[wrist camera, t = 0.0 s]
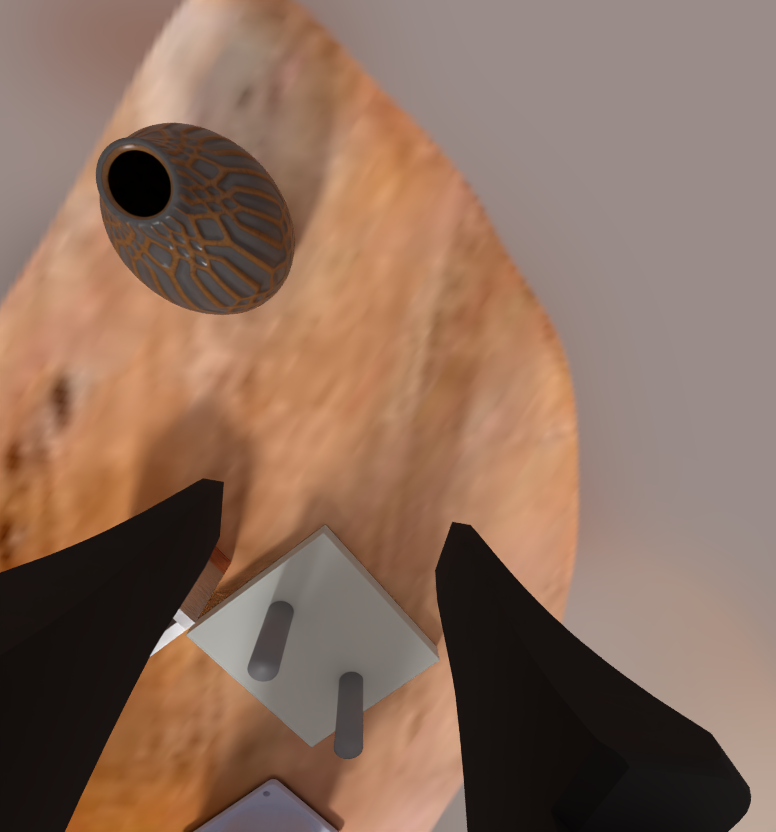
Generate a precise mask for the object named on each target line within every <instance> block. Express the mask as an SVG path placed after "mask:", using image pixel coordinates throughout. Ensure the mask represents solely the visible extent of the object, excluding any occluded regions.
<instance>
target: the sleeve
mask: <svg viewBox="0 0 776 832" xmlns="http://www.w3.org/2000/svg"><path fill="white" fill-rule="evenodd" d="M230 564H231V562H230V561H229V560H228V559H227V558H226V557H225V556H224V555H223V554H222V553H221V552H220V551H219V550H218V549H217V548H216V547H215V548H214V550H213V552H212V554H211V556H210V558H209V560H208V562H207V564H206V567H205V568H204V570H203V571H202V573H201V575H200V576H199V578H198V580H197V581H196V583H195V584H194V586H193V588H192V589H191V591H190V592H189V594H188V596H187V597H186V599H185V600H184V602H183V603H182V605H181V607H180V608H179V610H178V611H177V613H176V614H175V616H174V618H173V619H172V621H171V622H170V624H169V626H168V627H167V629H166V630H165V632H164V633H163V635H162V637H161V638H160V640H159V642H158V643H157V645H156V647H155V648H154V650H153V652H152V654H151V655H150V656H152V655H153V654H154V653H156V652H157V651H158V650H160V649H161V648H162V647H164V646H165V645H167V644H168V643H169V642H171V641H172V640H173V639H175V638H176V637H177V636H179V635H180V634H181V633H183V632H184V631H185V630H187V629H188V628H189V627H191V626H192V625H193V624H195V623H196V621H197V619H198V618H199V616H200V614H201V612H202V611H203V609H204V607H205V606H206V604H207V602H208V601H209V599H210V597H211V596H212V594H213V592H214V591H215V589H216V587H217V585H218V584H219V582H220V580H221V579H222V577H223V575H224V574H225V572H226V570H227V569H228V567H229V565H230Z"/></svg>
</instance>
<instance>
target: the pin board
mask: <svg viewBox="0 0 776 832" xmlns="http://www.w3.org/2000/svg"><path fill="white" fill-rule="evenodd" d="M186 635H187V636H188V637H189V638H190V639H191V640H192V641H193V642H194V643H195V644H197V645H198V646H199V647H200V648H201V649H202V650H203V651H204V652H205V653H207V654H208V655H209V656H210V657H211V658H212V659H213V660H214V661H216V662H217V663H218V664H219V665H220V666H221V667H222V668H223V669H224V670H226V671H227V672H228V673H229V674H230V675H231V676H232V677H233V678H234V679H236V680H237V681H238V682H239V683H240V684H241V685H242V686H243V687H244V688H246V689H247V690H248V691H249V692H250V693H251V694H252V695H253V696H255V697H256V698H257V699H258V700H259V701H260V702H261V703H262V704H263V705H265V706H266V707H267V708H268V709H269V710H270V711H271V712H272V713H273V714H275V715H276V716H277V717H278V718H279V719H280V720H281V721H282V722H284V723H285V724H286V725H287V726H288V727H289V728H290V729H291V730H292V731H294V732H295V733H296V734H297V735H298V736H299V737H300V738H301V739H302V740H304V741H305V742H306V743H307V744H308V745H309V746H310V747H313V746H314V745H316V744H317V743H319V742H320V741H322V740H323V739H325V738H326V737H328V736H329V735H330V734H332V733H333V732H335V741H334V751H335V753H336V755H337V756H339V757H341V758H343V759H352V758H355V757H357V756H358V755H359V754H360V753H361V752H362V750H363V712H364V711H366V710H367V709H369V708H370V707H372V706H373V705H375V704H376V703H377V702H379V701H380V700H382V699H383V698H385V697H386V696H388V695H389V694H391V693H392V692H394V691H395V690H397V689H398V688H399V687H401V686H402V685H404V684H405V683H407V682H408V681H410V680H411V679H413V678H414V677H416V676H417V675H419V674H420V673H422V672H423V671H424V670H426V669H427V668H429V667H430V666H432V665H433V664H435V663H436V662H438V661H439V660H440V658H439V654H438V649H437V647H436V646H435V645H434V644H433V642H432V641H431V640H430V639H429V638H428V637H427V636H426V635H425V634H424V633H423V631H422V630H421V629H420V628H419V627H418V626H417V625H416V624H415V623H414V622H413V620H412V619H411V618H410V617H409V616H408V615H407V614H406V613H405V612H404V610H403V609H402V608H401V607H400V606H399V605H398V604H397V603H396V602H395V601H394V599H393V598H392V597H391V596H390V595H389V594H388V593H387V592H386V591H385V590H384V588H383V587H382V586H381V585H380V584H379V583H378V582H377V581H376V580H375V579H374V577H373V576H372V575H371V574H370V573H369V572H368V571H367V570H366V569H365V568H364V566H363V565H362V564H361V563H360V562H359V561H358V560H357V559H356V558H355V556H354V555H353V554H352V553H351V552H350V551H349V550H348V549H347V548H346V547H345V545H344V544H343V543H342V542H341V541H340V540H339V539H338V538H337V537H336V536H335V534H334V533H333V532H332V531H331V530H330V529H329V528H328V527H327V526H326V525H324V526H323V527H321V528H320V529H319V530H317V531H316V532H315V533H313V534H312V535H311V536H309V537H308V538H307V539H305V540H304V541H302V542H301V543H300V544H298V545H297V546H296V547H294V548H293V549H292V550H290V551H289V552H288V553H286V554H285V555H284V556H282V557H281V558H280V559H278V560H277V561H276V562H274V563H273V564H272V565H270V566H269V567H268V568H266V569H265V570H263V571H262V572H261V573H259V574H258V575H257V576H255V577H254V578H253V579H251V580H250V581H249V582H247V583H246V584H245V585H243V586H242V587H241V588H239V589H238V590H237V591H235V592H234V593H233V594H231V595H230V596H229V597H227V598H226V599H224V600H223V601H222V602H220V603H219V604H218V605H216V606H215V607H214V608H212V609H211V610H210V611H208V612H207V613H206V614H204V615H203V616H202V617H200V618H199V619H198V620H197V621H196V623H195V624H193V625H192V626H191V627H190V629H189V631H188V632H187V634H186Z"/></svg>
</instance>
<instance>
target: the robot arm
mask: <svg viewBox="0 0 776 832" xmlns="http://www.w3.org/2000/svg"><path fill="white" fill-rule="evenodd" d="M223 485H224V482H220V481H215V480H209V479H201V480H199V481H197V482H196V483H194V484H192V485H190V486H189V487H187V488H185V489H183V490H182V491H180V492H178V493H176V494H175V495H173V496H171V497H169V498H168V499H166V500H164V501H162V502H160V503H159V504H157V505H155V506H153V507H151V508H150V509H148V510H146V511H144V512H142V513H140V514H138V515H136V516H135V517H133V518H131V519H129V520H127V521H125V522H123V523H121V524H119V525H117V526H115V527H113V528H111V529H109V530H107V531H105V532H102V533H100V534H98V535H96V536H94V537H92V538H89V539H87V540H85V541H83V542H80V543H78V544H75V545H73V546H71V547H68V548H66V549H63V550H61V551H59V552H56V553H53V554H51V555H48V556H46V557H43V558H40V559H37V560H34V561H32V562H29V563H26V564H23V565H21V566H18V567H15V568H12V569H9V570H7V571H4V572H1V573H0V832H65V830H66V828H67V826H68V824H69V821H70V819H71V817H72V815H73V813H74V810H75V808H76V806H77V804H78V802H79V799H80V797H81V795H82V793H83V791H84V789H85V787H86V785H87V783H88V780H89V778H90V776H91V774H92V772H93V770H94V768H95V766H96V764H97V761H98V759H99V757H100V755H101V753H102V751H103V749H104V747H105V745H106V742H107V740H108V738H109V736H110V734H111V732H112V730H113V728H114V726H115V724H116V722H117V720H118V718H119V716H120V714H121V712H122V710H123V708H124V706H125V704H126V702H127V700H128V698H129V696H130V694H131V692H132V690H133V688H134V686H135V684H136V682H137V680H138V678H139V677H140V675H141V673H142V671H143V669H144V667H145V665H146V663H147V661H148V659H149V657H150V655H151V654H152V652H153V650H154V648H155V647H156V645H157V643H158V642H159V640H160V638H161V637H162V635H163V633H164V632H165V630H166V629H167V627H168V626H169V624H170V622H171V621H172V619H173V618H174V616H175V614H176V613H177V611H178V610H179V608H180V607H181V605H182V603H183V602H184V600H185V599H186V597H187V596H188V594H189V592H190V591H191V589H192V588H193V586H194V584H195V583H196V581H197V580H198V578H199V576H200V575H201V573H202V571H203V570H204V568H205V567H206V564H207V562H208V560H209V558H210V556H211V554H212V552H213V550H214V548H215V545H216V543H217V541H218V539H219V537H220V527H221V513H222V499H223ZM435 574H436V590H437V601H438V607H439V612H440V617H441V623H442V628H443V633H444V637H445V642H446V647H447V652H448V657H449V662H450V667H451V672H452V677H453V683H454V689H455V696H456V705H457V714H458V723H459V732H460V743H461V754H462V765H463V776H464V789H465V803H466V816H467V830H468V832H728V831H729V830H730V829H731V828H733V827H734V826H735V825H736V824H737V823H738V822H739V821H740V820H741V819H742V818H743V816H744V815H745V814H746V813H747V811H748V808H749V806H750V802H751V794H750V787H749V786H748V785H747V783H746V782H745V780H744V779H743V778H742V776H741V775H740V773H739V772H738V770H737V769H736V768H735V766H734V765H733V763H732V762H731V761H730V759H729V758H728V756H727V755H726V754H725V752H724V751H723V749H722V748H721V746H720V745H719V744H718V742H717V741H716V740H715V738H714V737H713V735H712V734H711V733H710V732H708V731H707V730H705V729H703V728H702V727H700V726H699V725H697V724H696V723H694V722H693V721H691V720H689V719H688V718H686V717H685V716H683V715H681V714H680V713H679V712H677V711H675V710H674V709H672V708H671V707H669V706H668V705H666V704H664V703H663V702H661V701H660V700H658V699H657V698H655V697H653V696H652V695H651V694H650V693H648V692H647V691H645V690H644V689H643V688H641V687H640V686H638V685H637V684H636V683H634V682H633V681H631V680H630V679H629V678H627V677H626V676H624V675H623V674H622V673H620V672H619V671H618V670H616V669H615V668H614V667H612V666H611V665H610V664H609V663H607V662H606V661H605V660H603V659H602V658H601V657H600V656H598V655H597V654H596V653H595V652H593V651H592V650H591V649H590V648H589V647H587V646H586V645H585V644H583V643H582V642H581V641H580V640H579V639H578V638H577V637H575V636H574V635H573V634H572V633H571V632H570V631H568V630H567V629H566V628H565V627H564V626H563V625H562V624H561V623H560V622H559V621H558V620H557V619H555V618H554V617H553V616H552V615H551V614H550V613H549V612H548V611H547V610H546V609H545V608H544V607H543V606H542V605H541V604H540V603H539V602H538V601H537V600H536V599H535V598H534V597H533V596H532V595H531V594H530V593H529V592H528V591H527V590H526V589H525V588H524V587H523V585H522V584H521V583H520V582H519V581H518V580H517V579H516V578H515V577H514V576H513V574H512V573H511V572H510V571H509V570H508V569H507V568H506V566H505V565H504V564H503V563H502V562H501V561H500V559H499V558H498V557H497V556H496V555H495V553H494V552H493V551H492V550H491V549H490V547H489V546H488V545H487V544H486V543H485V541H484V540H483V539H482V538H481V537H480V535H479V534H478V533H477V532H476V531H475V530H474V528H473V527H472V526H471V525H467V524H461V523H456V522H452V524H451V527H450V530H449V533H448V535H447V538H446V541H445V544H444V547H443V550H442V553H441V555H440V558H439V561H438V564H437V567H436V570H435ZM193 832H338V831H337V830H336V829H335V828H334V827H332V826H331V825H330V824H329V823H328V822H327V821H325V820H324V819H323V818H322V817H321V816H319V815H318V814H317V813H316V812H315V811H314V810H312V809H311V808H310V807H309V806H308V805H306V804H305V803H304V802H303V801H302V800H300V799H299V798H298V797H297V796H296V795H295V794H293V793H292V792H291V791H290V790H289V789H287V788H286V787H285V786H284V785H283V784H282V783H280V782H279V781H278V780H276V779H270V780H269V781H267V782H266V783H264V784H263V785H261V786H260V787H258V788H257V789H255V790H254V791H252V792H251V793H249V794H248V795H246V796H245V797H244V798H242V799H241V800H239V801H238V802H236V803H235V804H233V805H232V806H230V807H229V808H227V809H226V810H224V811H223V812H221V813H220V814H219V815H217V816H216V817H214V818H213V819H211V820H210V821H208V822H207V823H205V824H204V825H202V826H201V827H199V828H198V829H196V830H195V831H193Z"/></svg>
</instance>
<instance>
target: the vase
mask: <svg viewBox="0 0 776 832" xmlns="http://www.w3.org/2000/svg"><path fill="white" fill-rule="evenodd" d="M96 183H97V187H98V191H99V194H100V208H101V214H102V218H103V222H104V226H105V229H106V232H107V234H108V237H109V239H110V241H111V243H112V245H113V247H114V248H115V250H116V252H117V253H118V255H119V256H120V258H121V259H122V261H123V262H124V263H125V265H126V266H127V267H128V268H129V269H130V270H131V271H132V273H133V274H134V275H135V276H136V277H137V278H138V279H139V280H140V281H142V282H143V283H144V284H145V285H146V286H147V287H149V288H150V289H151V290H153V291H154V292H155V293H157V294H158V295H160V296H161V297H163V298H164V299H166V300H168V301H170V302H172V303H174V304H176V305H178V306H181V307H183V308H186V309H189V310H192V311H196V312H200V313H205V314H215V315H229V314H238V313H243V312H246V311H249V310H252V309H254V308H256V307H258V306H260V305H262V304H263V303H265V302H266V301H268V300H269V299H270V298H271V297H273V296H274V295H275V294H276V293H277V291H278V290H279V289H280V288H281V286H282V285H283V283H284V282H285V280H286V278H287V276H288V274H289V271H290V269H291V265H292V261H293V256H294V246H295V239H294V229H293V224H292V220H291V217H290V213H289V210H288V208H287V205H286V203H285V200H284V198H283V196H282V194H281V192H280V191H279V189H278V187H277V185H276V184H275V182H274V181H273V179H272V178H271V177H270V175H269V174H268V173H267V171H266V170H265V169H264V168H263V167H262V165H261V164H260V163H259V162H258V161H257V160H256V159H255V158H253V157H252V156H251V155H250V154H249V153H248V152H247V151H245V150H244V149H243V148H241V147H240V146H238V145H237V144H235V143H234V142H232V141H231V140H229V139H227V138H225V137H223V136H221V135H219V134H217V133H215V132H213V131H210V130H207V129H204V128H201V127H198V126H194V125H189V124H182V123H162V124H157V125H152V126H149V127H145V128H143V129H140V130H138V131H136V132H134V133H133V134H131V135H130V136H128V137H127V138H122V139H119V140H116V141H114V142H113V143H111V144H110V145H109V146H107V147H106V149H105V150H104V151H103V152H102V154H101V156H100V158H99V160H98V163H97V168H96Z"/></svg>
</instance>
